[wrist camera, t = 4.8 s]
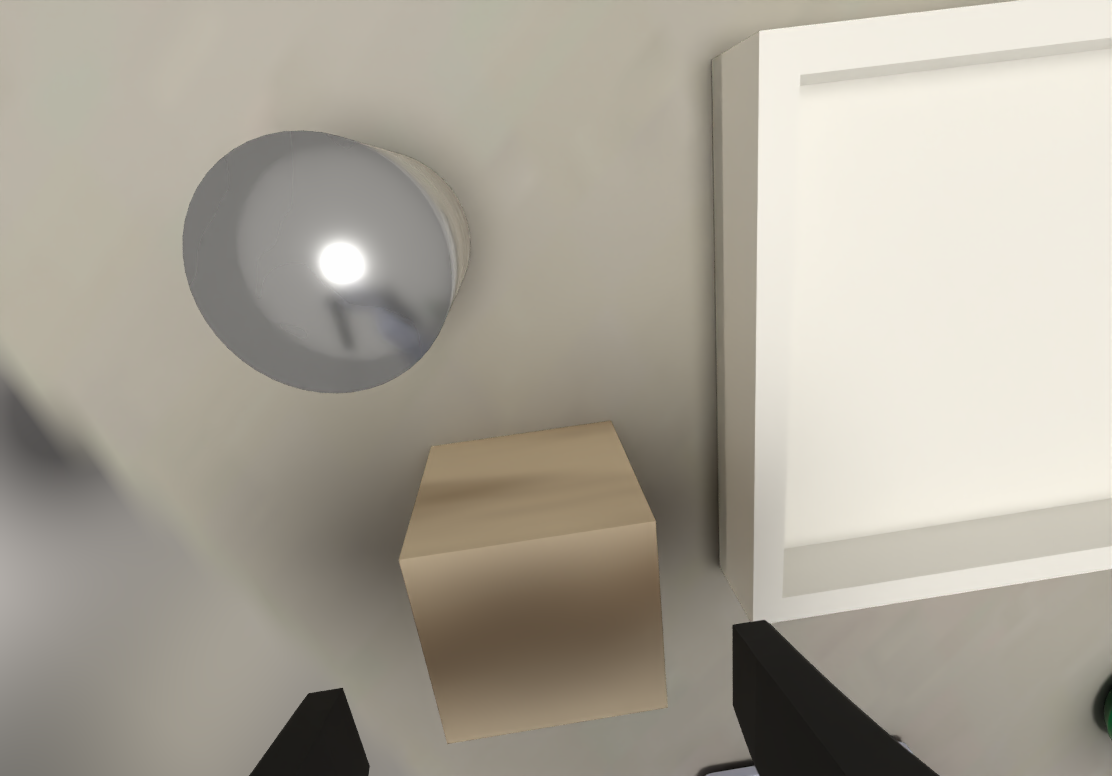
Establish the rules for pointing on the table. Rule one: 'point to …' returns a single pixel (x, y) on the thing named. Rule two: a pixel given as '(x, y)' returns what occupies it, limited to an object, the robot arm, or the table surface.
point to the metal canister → (324, 258)
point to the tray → (914, 305)
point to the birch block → (535, 582)
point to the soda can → (1108, 713)
